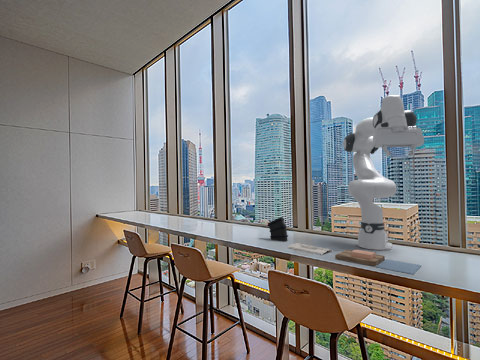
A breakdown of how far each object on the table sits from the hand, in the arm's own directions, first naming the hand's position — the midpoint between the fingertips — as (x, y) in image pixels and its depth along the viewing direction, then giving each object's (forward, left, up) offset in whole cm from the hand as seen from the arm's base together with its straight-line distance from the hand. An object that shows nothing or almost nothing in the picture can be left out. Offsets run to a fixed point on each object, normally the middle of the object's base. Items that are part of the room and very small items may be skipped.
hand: (400, 155), depth 117 cm
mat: (0, -1, -48) cm, 48 cm away
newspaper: (-2, -46, -49) cm, 67 cm away
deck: (0, -18, -48) cm, 52 cm away
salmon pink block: (+1, -16, -46) cm, 49 cm away
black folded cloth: (-11, -74, -49) cm, 89 cm away
